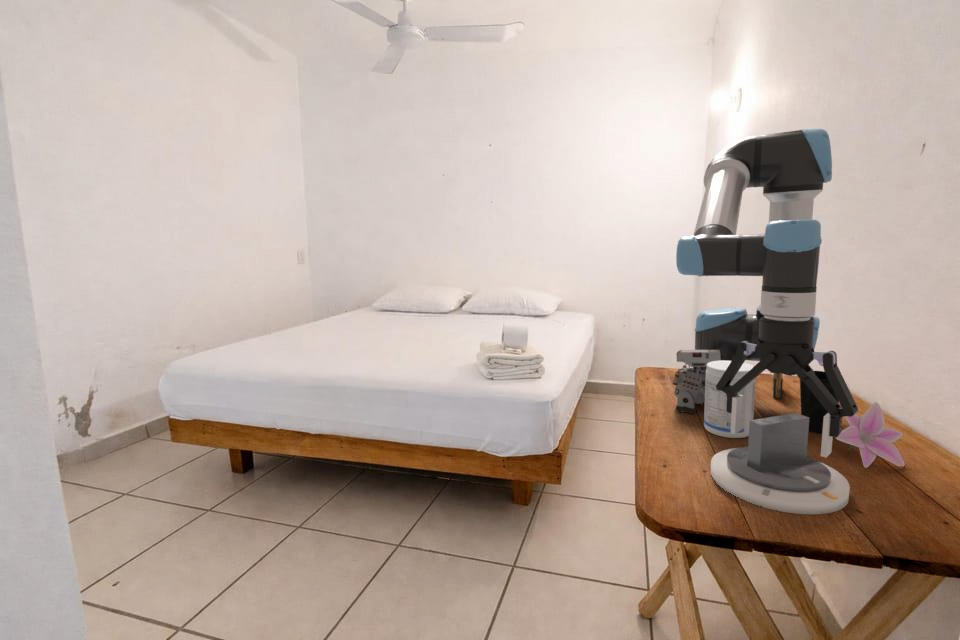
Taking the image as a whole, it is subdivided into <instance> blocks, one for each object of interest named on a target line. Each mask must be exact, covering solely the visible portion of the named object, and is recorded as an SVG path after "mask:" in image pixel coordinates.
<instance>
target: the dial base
mask: <svg viewBox="0 0 960 640" xmlns="http://www.w3.org/2000/svg"><path fill="white" fill-rule="evenodd" d="M736 448H737V447H735V448H734V447H733V448H728V449H724V450H721V451H719V452H717V453H715V454H714V455H713V456H712V457H711V461H710V476H711V475H712V477H713V479H714V480H715V481H716V483H717V484H718V485H719V486H720V487H721V488H720V487H719V486H718V485H717V484H716V483H715V484H716V485H717V486H718V487H719V488H720V489H722V488H723V489H724V490H725V492H726V491H727V492H726V493H728V492H729V493H731V494H732V495H731V494H730V495H731V496H733V495H734V496H733V497H735V496H736V497H735V498H737V497H739V498H740V499H739V498H738V499H739V500H741V499H743V500H745V501H744V502H746V501H747V502H746V503H749V502H750V503H749V504H751V503H752V505H754V504H755V506H757V505H758V506H757V507H760V506H762V507H761V508H764V509H768V510H772V511H776V510H777V512H782V513H787V514H789V513H790V514H796V515H811V516H812V515H825V514H826V515H827V514H831V513H835V512H838V511H840V510H842V509H844V508H845V507H846V506H847V505H848V503H849V501H850V492H851V491H850V489H851V488H850V483H849V481H848V480H847V478H846V477H845V476H844V475H843V474H842V473H841V472H839V471H837V470H836V469H834V468H833V467H831V466H829V465H827V464H826V463H823V462H820V461H818V460H817V461H818V462H820V463H822V464H823V465H824V466H826V467H827V468H828V469H829V471H830V473H831V481H830V484H829V486H827V487H826V488H824V489H821V490H818V491H811V492H793V491H784V490H778V489H773V488H769V487H765V486H762V485H758V484H755V483H753V482H750V481H748V480H746V479H744V478H742V477H740V476H738V475H736V474H735V473H734V472H733V471H731V470H730V468H729V467H728V465H727V455H728V453H729V452H730V451H732V450H734V449H736ZM712 477H711V478H712ZM713 479H712V480H713ZM714 480H713V481H714ZM723 489H722V490H723ZM724 490H723V491H724ZM729 493H728V494H729ZM743 500H742V501H743Z"/></svg>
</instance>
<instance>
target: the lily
mask: <svg viewBox="0 0 960 640" xmlns="http://www.w3.org/2000/svg"><path fill="white" fill-rule="evenodd" d="M844 418H845V419H846V421H847V422H848V424H849V426H847V427H845V428H844V429H843V430H841V433H840V435H839V436H838V437H837V438H836V437H834V438H835V439H836V440H837V441H839V442H842V443H845V444H847V445H848V444H849V445H850V446H849V448H847V451H851V449H852V448H853V447H856V448H858V449H859V453H860V457H861V460H862V461H861V462H862V465H863V467H864V468H866V469H867V468H868V467H870V465H872V463H873V462H874V461H875V460H876V458H877V456H878V457H880V458H883V459H884V460H886V461H888V462H890V463H892V464H894V466H897V467H899V466H904V465H905V461H904V460H903V459H904V458H903V457H902V455H901V453H900V450H898V448H897V447H896V446H895V444H893V443H895V442H896V441H898V440H899V439H900V438H902V437H903V433H902V431H899V430H896V429H894V428H891V427H887V426H886V425H885V424H886V421H885V416H884V411H883V410H882V408H881V405H880V404H879V402H877V401H874V402H873V403H872V404H871V405H870V406H869V407H868V408H867V410H866V411H865V412H864V413H863V415H862V416H860V415H858V414H857V413H855V414H854V415H853V416H851V417H849V416H844ZM905 466H906V465H905Z"/></svg>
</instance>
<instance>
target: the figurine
mask: <svg viewBox="0 0 960 640" xmlns="http://www.w3.org/2000/svg"><path fill="white" fill-rule="evenodd" d="M721 359H722V355H721V354H720V350H716V349H715V350H695V349H680V350H678V351H677V352H676V362H677V363H684V365H682V368H680V369H678V370H676V371H675V374H674V379H673V382H672V385H673V386H675V387H674V392H673V395H674V396H675V397H676V398H677V402H676V406H675V410H676V411H677V412H678V411H680V412H681V411H683V412H682V413H684V412H685V413H687V412H688V413H687V414H691V413H692V415H693V414H695V413H696V407H695V406H696V405H695V404H697V405H698V404H699V405H698V406H701V405H703V403H704V404H705V378H706V372H705V371H703V368H704V367H707V363H709V362H712V361H721Z"/></svg>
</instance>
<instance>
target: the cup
mask: <svg viewBox="0 0 960 640" xmlns="http://www.w3.org/2000/svg"><path fill="white" fill-rule="evenodd" d="M813 371H814V372H815V375H816V376H817V377H818V379H819V380H820V381H821V382H822V384H823V385H824V386H825V387H826V388H827V390H828V391H829V392H830V393H831V395H832V396H833V397H834V398H835V400H836V401H837V402H838V403H839V401H838V399H837V397H836V394H835V392H834V390H833V388H832V386H831V384H830V382H829V380H828V378H827V376H826V374H825V371H824V370H823V371H822V370H813ZM799 388H800V389H799V392H800V414H801V415H803V416H806V417H809V430H808V433H814V434H819V435H822V432H823V419H824V416H825V415H826V414H827V413H828V412H827V410H826V409H825V408H824V407H823V405H822V404H821V403H820V402H819V400H818V399H817V398H816V397H815V395H814V394H813V393H812V392H811V390H810V389H809V388H808V387H807V385H806V384H805V383H804V382H803V381H802V380H800V379H799ZM839 404H840V403H839Z"/></svg>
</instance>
